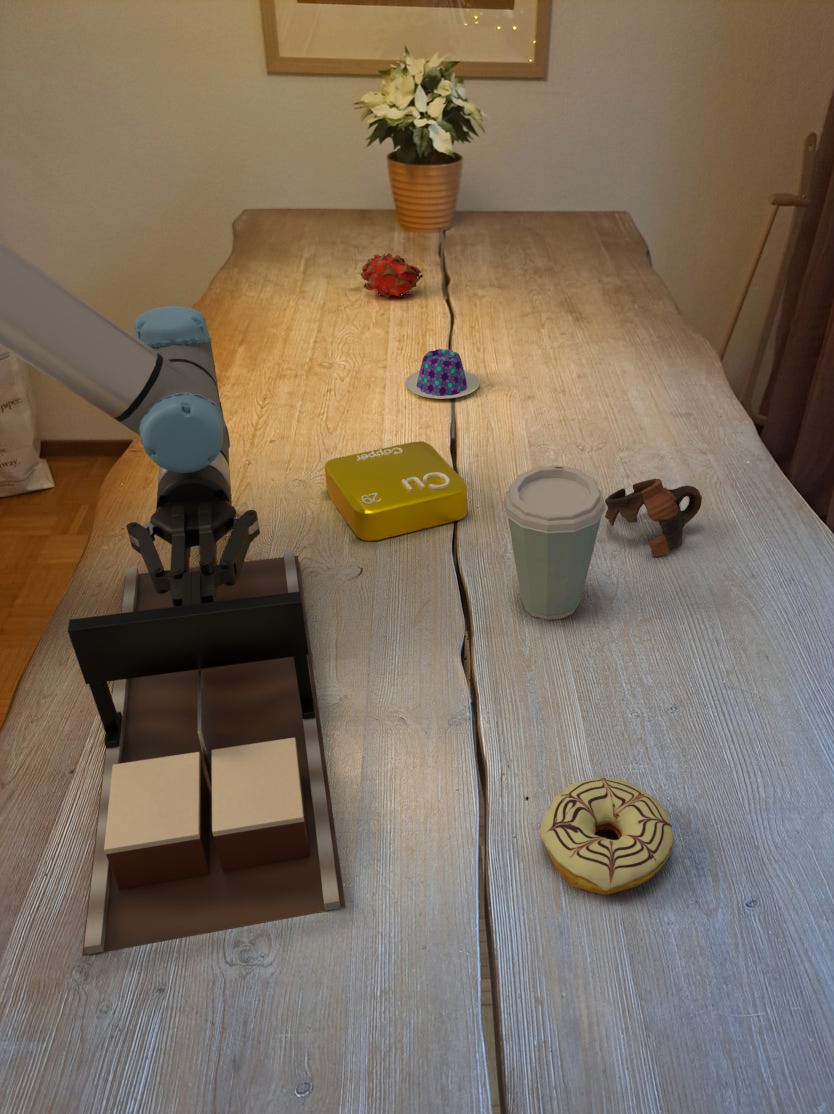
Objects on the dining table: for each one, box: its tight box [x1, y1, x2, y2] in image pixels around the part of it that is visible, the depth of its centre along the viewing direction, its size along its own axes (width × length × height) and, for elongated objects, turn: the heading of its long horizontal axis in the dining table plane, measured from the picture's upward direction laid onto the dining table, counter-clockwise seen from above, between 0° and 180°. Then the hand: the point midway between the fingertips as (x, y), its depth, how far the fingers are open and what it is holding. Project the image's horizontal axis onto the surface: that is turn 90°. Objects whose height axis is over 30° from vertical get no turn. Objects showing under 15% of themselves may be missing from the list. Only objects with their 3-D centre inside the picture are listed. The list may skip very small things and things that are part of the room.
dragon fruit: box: [360, 252, 423, 299], centre depth 181 cm, size 8×8×12 cm
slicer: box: [67, 591, 315, 788], centre depth 81 cm, size 11×19×14 cm, turn 103°
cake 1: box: [104, 752, 210, 889], centre depth 77 cm, size 9×7×5 cm
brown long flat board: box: [81, 548, 346, 957], centre depth 90 cm, size 50×20×2 cm, turn 13°
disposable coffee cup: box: [502, 465, 606, 621], centre depth 101 cm, size 11×11×15 cm
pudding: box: [404, 348, 481, 400], centre depth 149 cm, size 12×12×5 cm
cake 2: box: [212, 738, 310, 871], centre depth 78 cm, size 9×7×5 cm
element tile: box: [324, 440, 468, 542], centre depth 121 cm, size 15×15×5 cm
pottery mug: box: [604, 478, 703, 558], centre depth 116 cm, size 12×9×8 cm
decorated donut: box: [539, 777, 674, 896], centre depth 78 cm, size 10×11×4 cm
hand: (193, 626), depth 82 cm, fingers closed
